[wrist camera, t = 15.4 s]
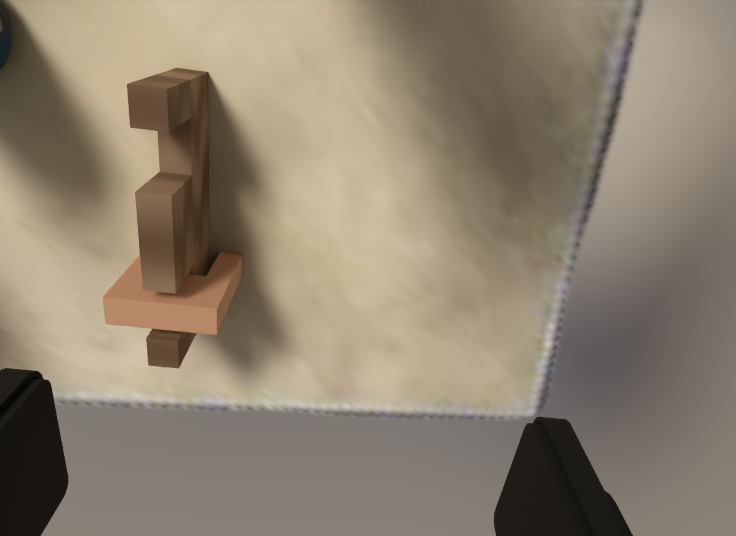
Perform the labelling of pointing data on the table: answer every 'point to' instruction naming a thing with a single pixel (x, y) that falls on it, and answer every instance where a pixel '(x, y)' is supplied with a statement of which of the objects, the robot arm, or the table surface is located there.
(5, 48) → the soda can
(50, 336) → the table surface
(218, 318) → the slotted plate
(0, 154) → the table surface
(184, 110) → the walnut e-shaped block
